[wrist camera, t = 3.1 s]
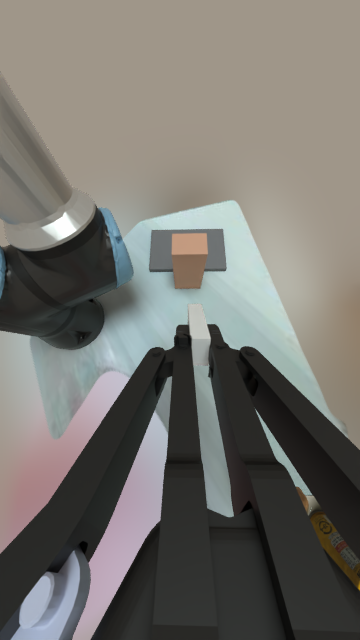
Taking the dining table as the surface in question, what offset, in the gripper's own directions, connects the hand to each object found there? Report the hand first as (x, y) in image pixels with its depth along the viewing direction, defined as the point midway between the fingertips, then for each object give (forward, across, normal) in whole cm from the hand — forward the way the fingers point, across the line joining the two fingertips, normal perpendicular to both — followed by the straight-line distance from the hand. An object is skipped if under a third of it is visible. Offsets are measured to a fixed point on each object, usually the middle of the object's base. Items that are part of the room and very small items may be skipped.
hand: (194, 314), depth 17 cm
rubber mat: (+35, 0, +4) cm, 35 cm away
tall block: (+28, 0, -3) cm, 28 cm away
